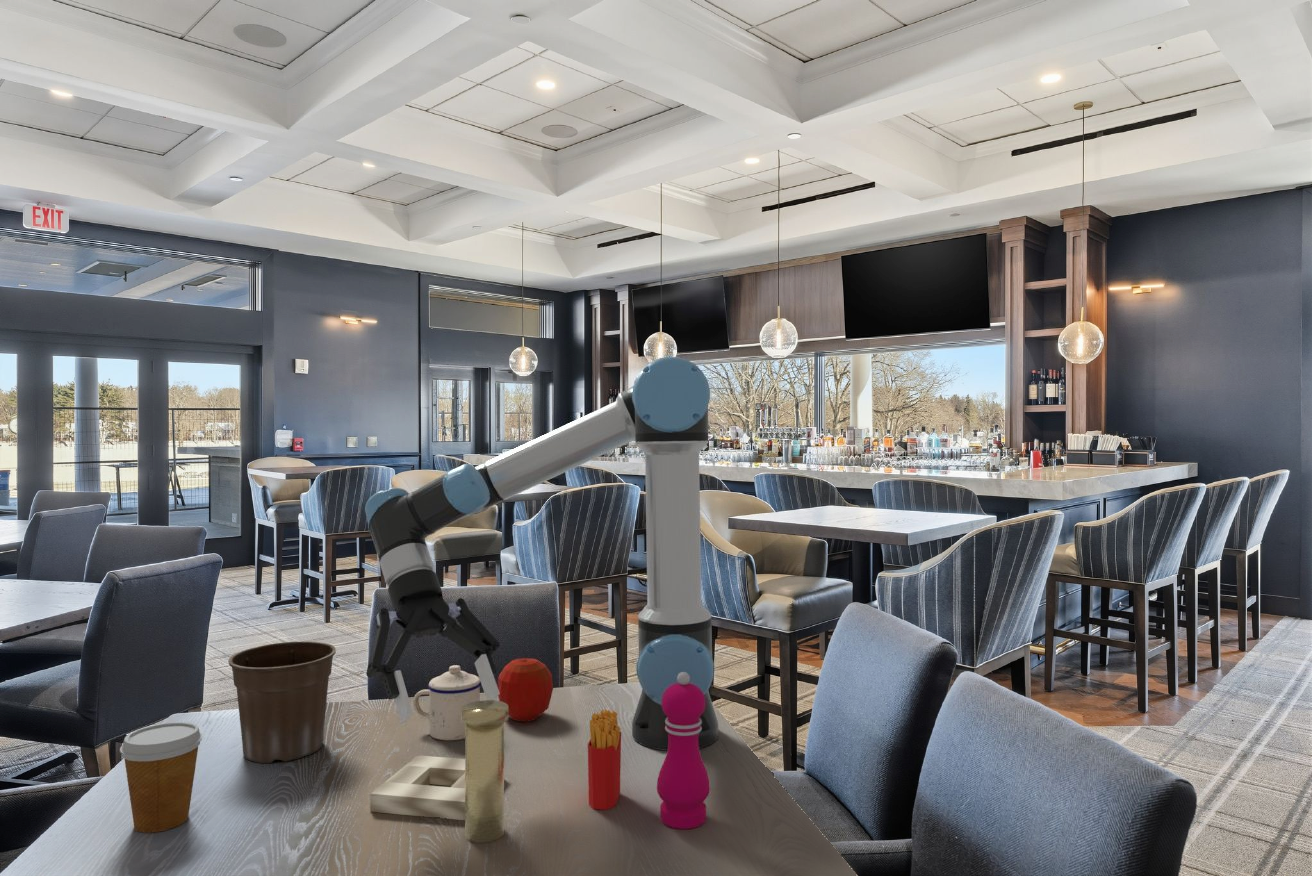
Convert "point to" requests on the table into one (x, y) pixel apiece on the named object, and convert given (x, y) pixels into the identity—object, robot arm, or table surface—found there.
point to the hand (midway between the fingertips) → (452, 708)
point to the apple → (525, 688)
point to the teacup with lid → (448, 702)
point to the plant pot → (282, 698)
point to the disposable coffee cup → (161, 773)
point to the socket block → (424, 789)
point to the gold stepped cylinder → (484, 769)
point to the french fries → (604, 760)
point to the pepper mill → (683, 757)
